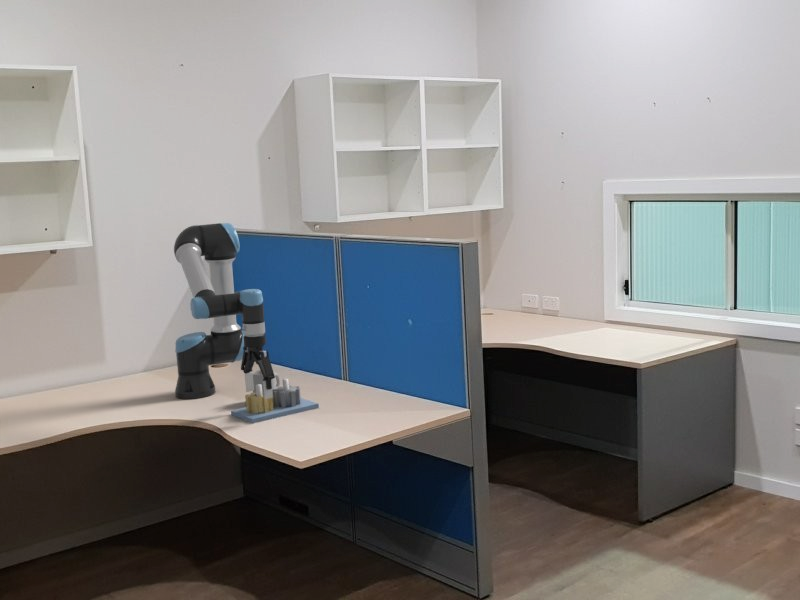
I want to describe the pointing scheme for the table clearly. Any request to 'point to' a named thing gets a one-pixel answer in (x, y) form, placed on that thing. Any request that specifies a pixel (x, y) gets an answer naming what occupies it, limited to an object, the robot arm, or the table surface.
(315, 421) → the table surface
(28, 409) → the table surface
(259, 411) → the brass gear
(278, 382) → the mug
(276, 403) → the gear board
